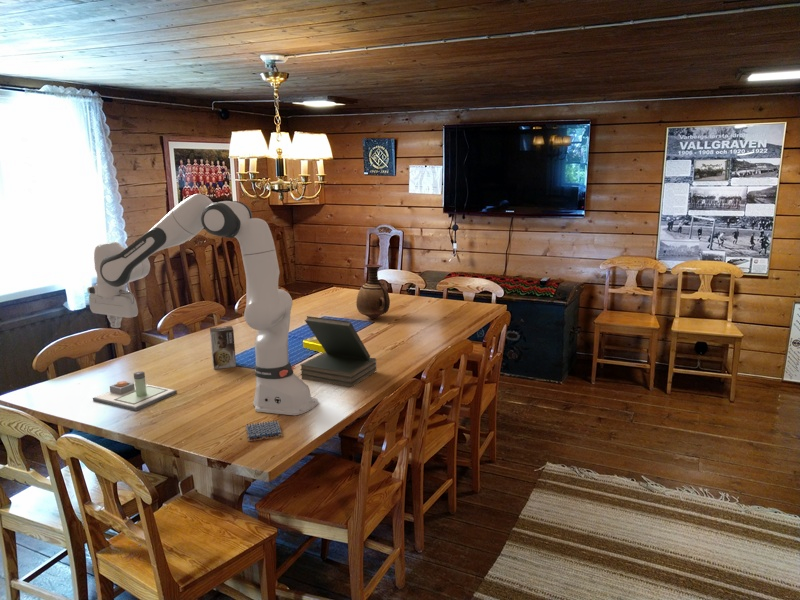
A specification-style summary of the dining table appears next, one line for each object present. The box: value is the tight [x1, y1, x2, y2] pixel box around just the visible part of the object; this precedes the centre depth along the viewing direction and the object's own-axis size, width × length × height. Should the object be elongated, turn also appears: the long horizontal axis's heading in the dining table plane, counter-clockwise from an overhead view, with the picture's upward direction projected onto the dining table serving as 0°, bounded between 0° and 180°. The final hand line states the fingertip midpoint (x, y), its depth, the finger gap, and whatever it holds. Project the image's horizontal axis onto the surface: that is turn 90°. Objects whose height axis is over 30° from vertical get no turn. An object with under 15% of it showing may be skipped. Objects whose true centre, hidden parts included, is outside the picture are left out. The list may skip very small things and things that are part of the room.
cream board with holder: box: [92, 381, 178, 412], centre depth 205 cm, size 21×18×4 cm
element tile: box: [302, 335, 326, 354], centre depth 264 cm, size 15×15×5 cm
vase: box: [356, 263, 391, 319], centre depth 313 cm, size 21×18×30 cm
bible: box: [299, 315, 377, 388], centre depth 225 cm, size 23×20×25 cm
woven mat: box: [245, 420, 283, 442], centre depth 177 cm, size 10×11×2 cm
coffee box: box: [209, 325, 237, 370], centre depth 237 cm, size 9×6×16 cm
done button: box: [116, 380, 128, 387], centre depth 207 cm, size 3×3×2 cm
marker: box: [133, 371, 147, 396], centre depth 203 cm, size 4×4×8 cm
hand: (115, 327), depth 203 cm, fingers closed
